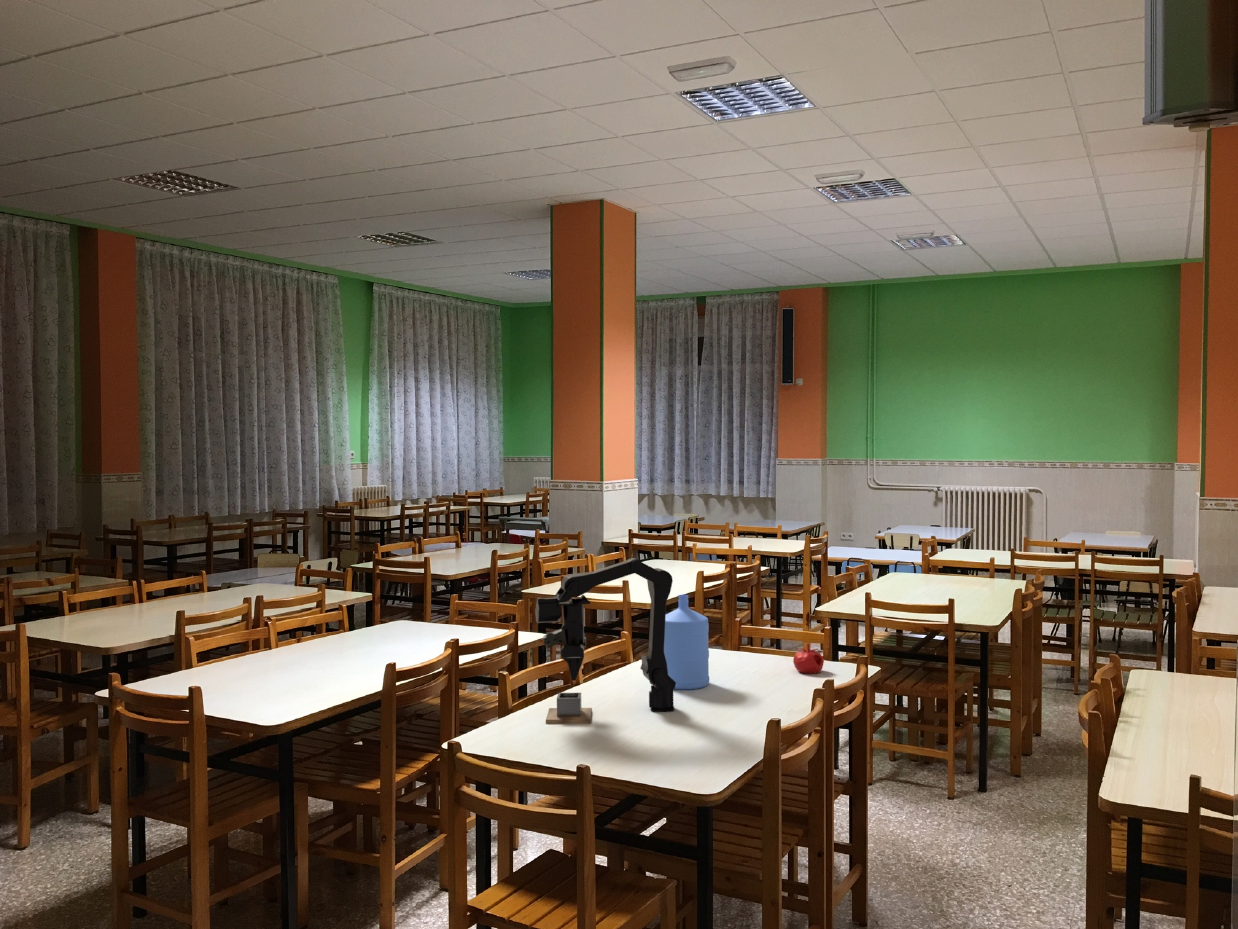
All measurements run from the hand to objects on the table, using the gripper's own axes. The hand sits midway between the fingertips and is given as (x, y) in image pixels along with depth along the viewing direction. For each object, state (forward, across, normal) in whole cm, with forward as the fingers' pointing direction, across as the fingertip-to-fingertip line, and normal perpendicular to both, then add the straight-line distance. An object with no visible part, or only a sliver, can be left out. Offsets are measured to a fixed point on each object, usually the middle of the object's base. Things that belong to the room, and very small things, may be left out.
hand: (574, 676), depth 270 cm
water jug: (+12, -35, +33) cm, 49 cm away
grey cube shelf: (+10, +2, -2) cm, 10 cm away
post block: (+11, +2, -2) cm, 11 cm away
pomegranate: (+12, -50, +75) cm, 91 cm away
